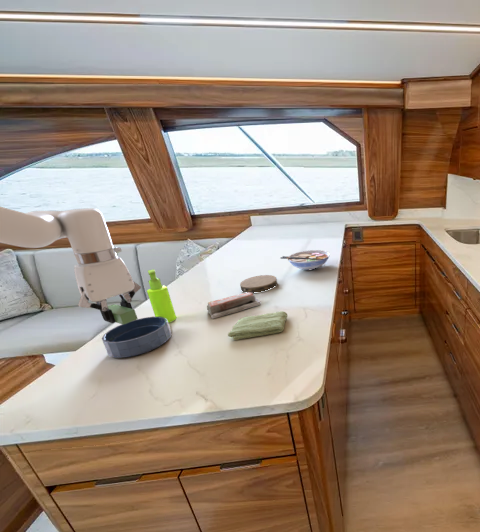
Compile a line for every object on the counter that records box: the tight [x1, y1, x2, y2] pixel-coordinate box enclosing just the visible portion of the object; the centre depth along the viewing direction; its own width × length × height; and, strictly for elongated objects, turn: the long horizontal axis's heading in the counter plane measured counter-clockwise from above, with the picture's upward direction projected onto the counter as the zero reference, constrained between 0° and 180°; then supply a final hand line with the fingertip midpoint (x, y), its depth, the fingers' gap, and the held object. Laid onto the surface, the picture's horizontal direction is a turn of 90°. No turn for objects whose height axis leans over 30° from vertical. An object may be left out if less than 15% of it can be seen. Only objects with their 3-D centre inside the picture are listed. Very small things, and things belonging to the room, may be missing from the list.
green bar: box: [99, 303, 139, 325], centre depth 83 cm, size 10×3×3 cm, turn 68°
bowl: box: [101, 316, 173, 358], centre depth 97 cm, size 16×16×6 cm
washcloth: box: [227, 310, 288, 341], centre depth 105 cm, size 13×18×3 cm
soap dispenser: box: [146, 268, 177, 323], centre depth 111 cm, size 6×7×20 cm
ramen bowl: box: [280, 249, 331, 271], centre depth 166 cm, size 25×23×8 cm
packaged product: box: [206, 292, 261, 320], centre depth 121 cm, size 18×5×10 cm
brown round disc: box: [239, 274, 278, 294], centre depth 143 cm, size 16×16×3 cm
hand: (120, 317), depth 84 cm, fingers closed on green bar, 3 cm apart
